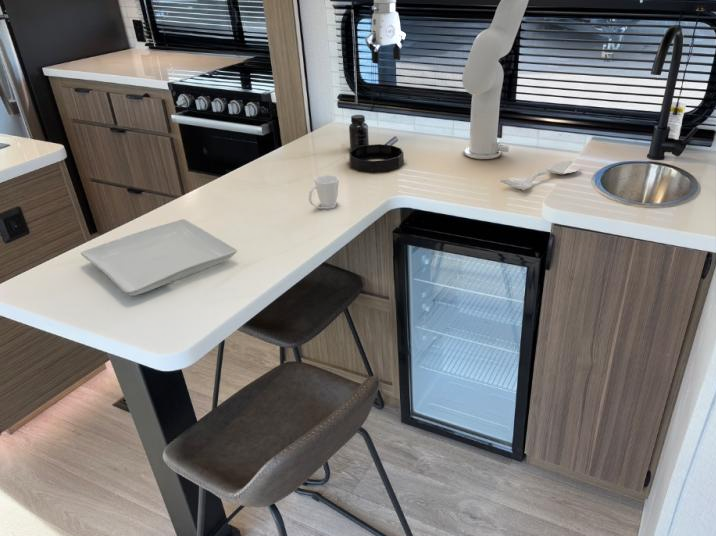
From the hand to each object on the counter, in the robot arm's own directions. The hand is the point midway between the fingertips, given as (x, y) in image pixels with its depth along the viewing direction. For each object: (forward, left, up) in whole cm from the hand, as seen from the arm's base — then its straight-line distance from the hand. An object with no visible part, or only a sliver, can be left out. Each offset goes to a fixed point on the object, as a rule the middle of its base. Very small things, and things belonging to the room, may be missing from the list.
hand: (386, 61), depth 214 cm
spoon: (-62, +26, -28) cm, 73 cm away
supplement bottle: (+6, +14, -28) cm, 32 cm away
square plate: (+16, +111, -28) cm, 116 cm away
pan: (-6, +22, -28) cm, 36 cm away
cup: (-6, +67, -28) cm, 73 cm away
